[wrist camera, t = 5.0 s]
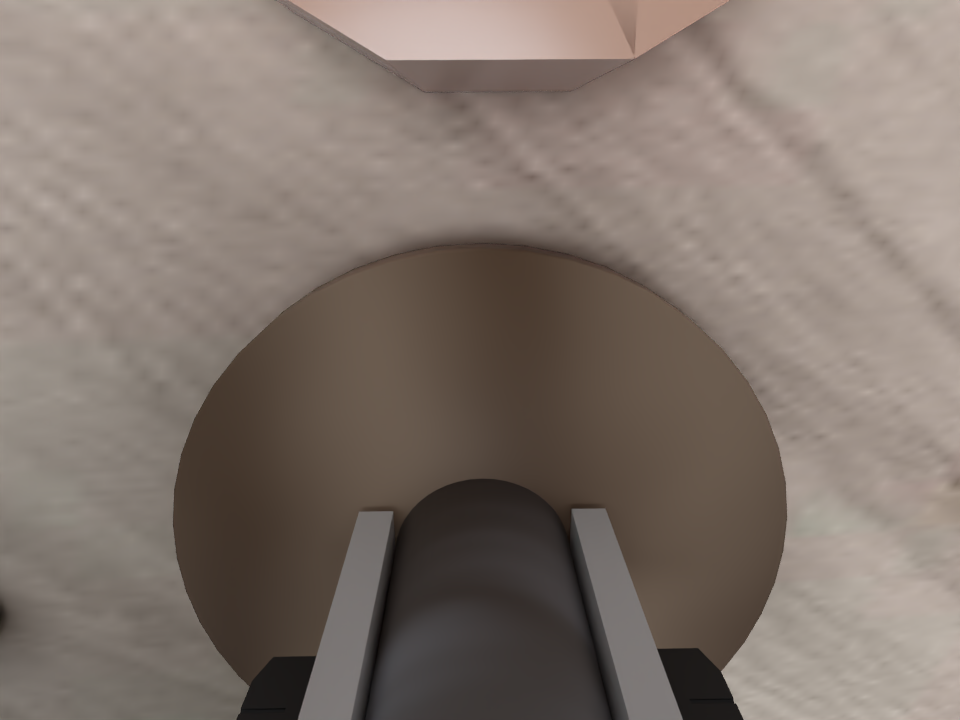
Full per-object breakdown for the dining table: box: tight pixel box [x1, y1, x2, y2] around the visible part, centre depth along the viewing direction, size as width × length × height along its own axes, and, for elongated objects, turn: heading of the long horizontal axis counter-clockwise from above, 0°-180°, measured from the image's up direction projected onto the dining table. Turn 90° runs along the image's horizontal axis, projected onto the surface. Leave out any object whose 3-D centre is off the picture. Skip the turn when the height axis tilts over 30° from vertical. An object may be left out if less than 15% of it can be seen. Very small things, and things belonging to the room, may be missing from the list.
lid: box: [173, 243, 787, 720], centre depth 11 cm, size 14×14×9 cm
